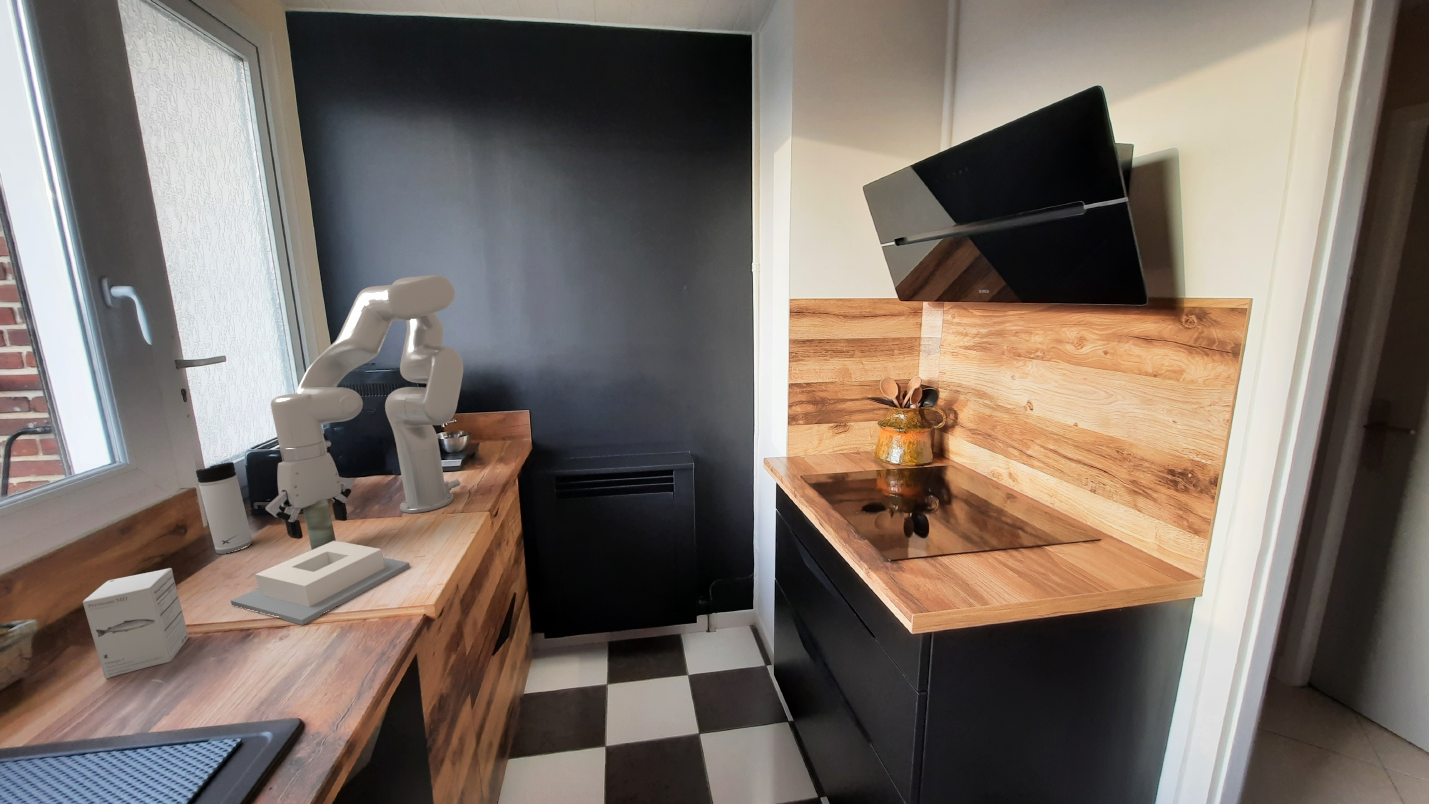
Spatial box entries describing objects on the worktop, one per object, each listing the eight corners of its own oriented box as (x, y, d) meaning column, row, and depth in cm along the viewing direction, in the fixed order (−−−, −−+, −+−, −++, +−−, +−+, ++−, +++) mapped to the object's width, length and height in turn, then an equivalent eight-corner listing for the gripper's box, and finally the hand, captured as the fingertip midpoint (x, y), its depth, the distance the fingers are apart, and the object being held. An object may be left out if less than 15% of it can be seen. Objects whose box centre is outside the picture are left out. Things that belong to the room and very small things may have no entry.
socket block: (343, 554, 113) (339, 532, 112) (410, 567, 106) (405, 544, 105) (231, 605, 95) (225, 580, 94) (302, 625, 87) (296, 598, 86)
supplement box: (103, 681, 76) (78, 602, 74) (129, 652, 83) (107, 578, 80) (171, 663, 79) (149, 587, 77) (191, 636, 86) (172, 565, 83)
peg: (328, 545, 118) (318, 494, 116) (341, 547, 116) (331, 496, 114) (307, 554, 114) (296, 502, 112) (321, 556, 112) (310, 504, 110)
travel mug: (232, 555, 115) (210, 468, 111) (208, 553, 117) (186, 468, 113) (261, 542, 121) (241, 459, 117) (238, 541, 123) (218, 459, 119)
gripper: (334, 440, 120) (348, 511, 123) (245, 463, 104) (263, 544, 107) (356, 442, 117) (370, 514, 120) (268, 465, 101) (286, 548, 105)
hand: (319, 528), depth 114 cm, fingers open, 8 cm apart
